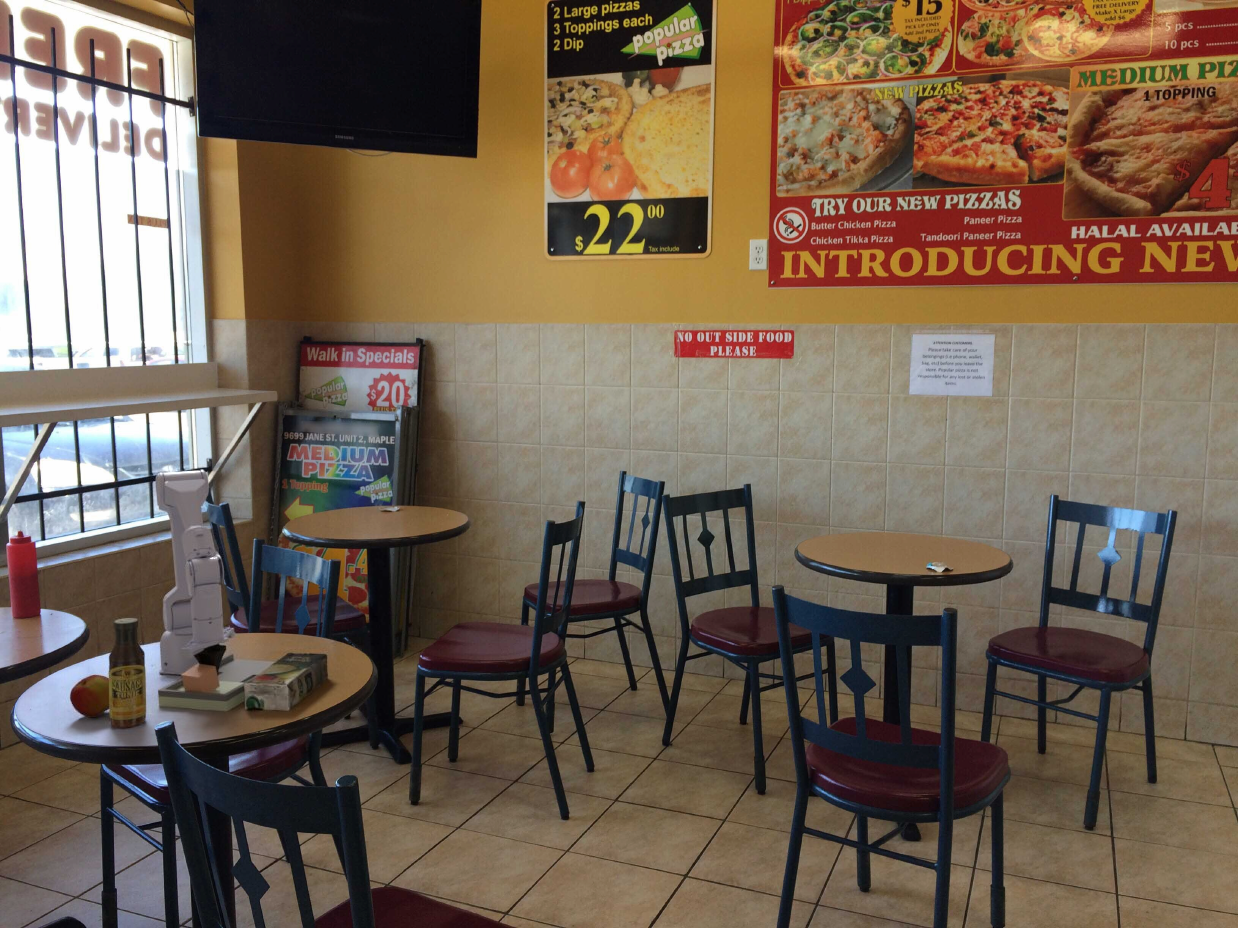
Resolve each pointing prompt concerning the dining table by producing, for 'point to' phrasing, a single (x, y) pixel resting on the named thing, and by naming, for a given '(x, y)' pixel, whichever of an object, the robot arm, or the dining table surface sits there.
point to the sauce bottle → (127, 676)
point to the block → (200, 678)
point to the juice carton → (286, 681)
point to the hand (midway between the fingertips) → (211, 681)
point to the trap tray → (221, 698)
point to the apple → (91, 695)
